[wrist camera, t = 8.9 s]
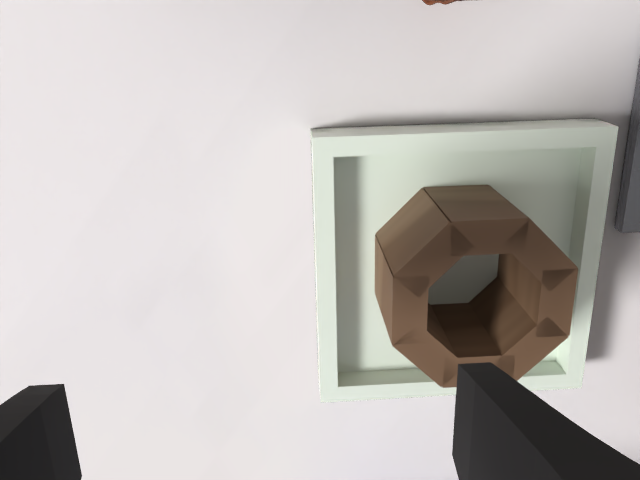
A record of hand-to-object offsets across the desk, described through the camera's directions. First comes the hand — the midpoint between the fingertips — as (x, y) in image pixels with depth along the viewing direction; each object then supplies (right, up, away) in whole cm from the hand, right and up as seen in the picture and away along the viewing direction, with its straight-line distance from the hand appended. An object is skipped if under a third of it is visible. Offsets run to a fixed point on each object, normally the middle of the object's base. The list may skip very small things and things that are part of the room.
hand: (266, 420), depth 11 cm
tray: (+5, +3, +10) cm, 12 cm away
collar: (+5, +3, +9) cm, 11 cm away
